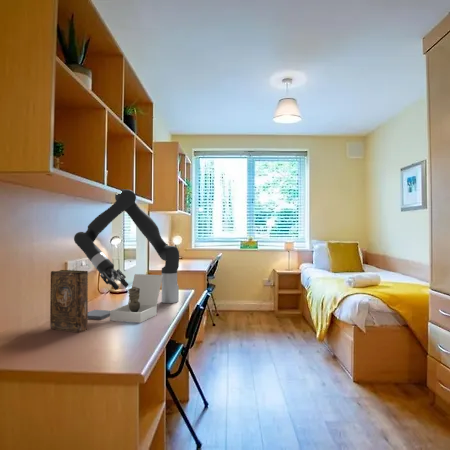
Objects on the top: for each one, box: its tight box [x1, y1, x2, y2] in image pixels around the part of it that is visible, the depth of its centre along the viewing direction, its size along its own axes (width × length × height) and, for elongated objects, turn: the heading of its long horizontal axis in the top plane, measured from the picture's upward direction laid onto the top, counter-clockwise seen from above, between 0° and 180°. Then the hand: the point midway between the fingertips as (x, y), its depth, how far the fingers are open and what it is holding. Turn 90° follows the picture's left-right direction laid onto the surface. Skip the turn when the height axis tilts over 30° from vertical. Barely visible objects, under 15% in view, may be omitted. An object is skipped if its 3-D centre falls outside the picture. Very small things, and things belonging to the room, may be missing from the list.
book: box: [49, 269, 89, 333], centre depth 156 cm, size 16×6×25 cm, turn 70°
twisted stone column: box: [127, 286, 140, 312], centre depth 176 cm, size 6×6×15 cm
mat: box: [88, 309, 111, 321], centre depth 179 cm, size 12×12×2 cm
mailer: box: [109, 273, 163, 324], centre depth 179 cm, size 23×16×19 cm
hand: (122, 287), depth 178 cm, fingers open, 8 cm apart
